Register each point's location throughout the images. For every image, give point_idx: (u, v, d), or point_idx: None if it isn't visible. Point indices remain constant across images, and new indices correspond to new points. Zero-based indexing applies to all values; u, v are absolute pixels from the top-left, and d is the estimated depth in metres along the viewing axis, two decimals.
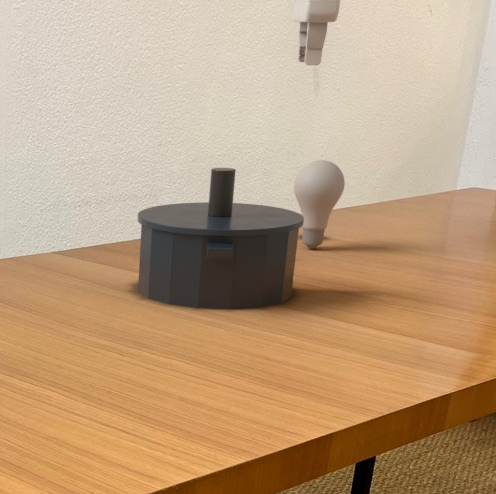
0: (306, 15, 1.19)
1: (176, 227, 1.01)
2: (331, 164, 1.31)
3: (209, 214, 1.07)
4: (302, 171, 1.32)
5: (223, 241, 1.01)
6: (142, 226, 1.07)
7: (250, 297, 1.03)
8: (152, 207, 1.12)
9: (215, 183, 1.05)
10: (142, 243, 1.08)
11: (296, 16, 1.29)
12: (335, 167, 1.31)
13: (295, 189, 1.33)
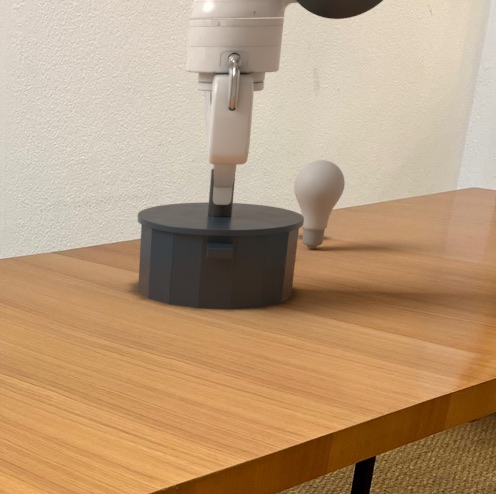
0: (209, 156, 0.96)
1: (176, 227, 1.01)
2: (331, 164, 1.31)
3: (209, 214, 1.07)
4: (302, 171, 1.32)
5: (223, 241, 1.01)
6: (142, 226, 1.07)
7: (250, 297, 1.03)
8: (152, 207, 1.12)
9: None
10: (142, 243, 1.08)
11: None
12: (335, 167, 1.31)
13: (295, 189, 1.33)
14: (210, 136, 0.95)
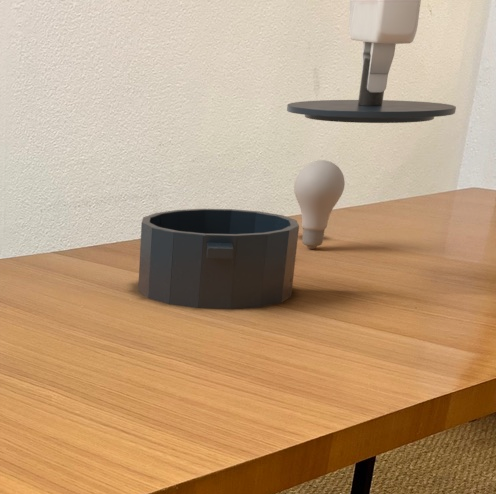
0: (376, 35, 0.98)
1: (335, 111, 1.03)
2: (331, 164, 1.31)
3: (360, 104, 1.09)
4: (302, 171, 1.32)
5: (223, 241, 1.01)
6: (142, 226, 1.07)
7: (250, 297, 1.03)
8: (297, 102, 1.14)
9: (368, 72, 1.07)
10: (142, 243, 1.08)
11: (358, 34, 1.09)
12: (335, 167, 1.31)
13: (295, 189, 1.33)
14: (379, 14, 0.97)
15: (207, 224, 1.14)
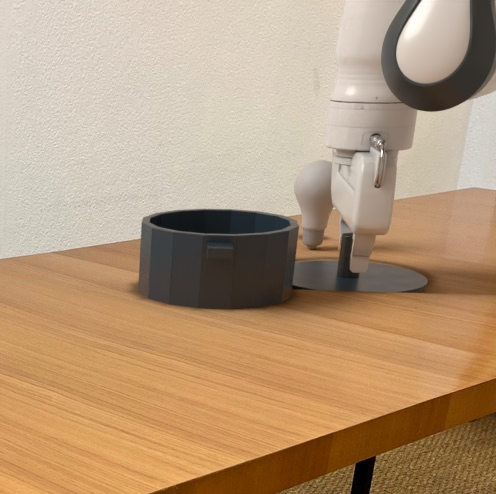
0: (353, 227, 1.06)
1: None
2: (331, 164, 1.31)
3: (338, 275, 1.16)
4: (302, 171, 1.32)
5: (223, 241, 1.01)
6: (142, 226, 1.07)
7: (250, 297, 1.03)
8: None
9: (346, 247, 1.15)
10: (142, 243, 1.08)
11: (338, 209, 1.17)
12: None
13: (295, 189, 1.33)
14: (356, 210, 1.05)
15: (207, 224, 1.14)
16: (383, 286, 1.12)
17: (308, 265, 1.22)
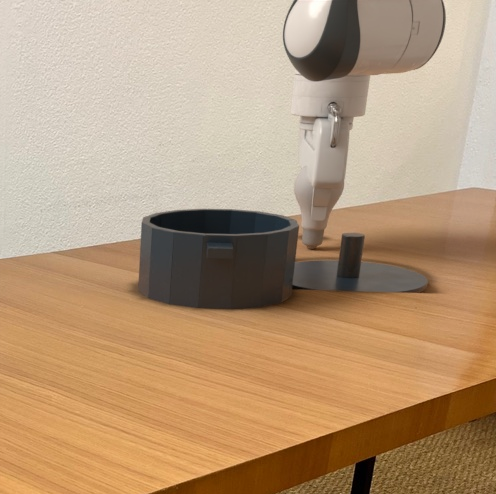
0: (313, 182, 1.24)
1: None
2: None
3: (338, 275, 1.16)
4: (302, 171, 1.32)
5: (223, 241, 1.01)
6: (142, 226, 1.07)
7: (250, 297, 1.03)
8: None
9: (346, 247, 1.15)
10: (142, 243, 1.08)
11: None
12: None
13: (295, 189, 1.33)
14: (315, 167, 1.23)
15: (207, 224, 1.14)
16: (383, 286, 1.12)
17: (308, 265, 1.22)
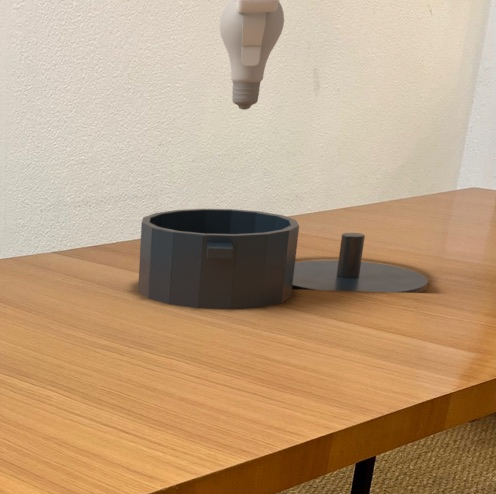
0: (238, 3, 0.94)
1: None
2: None
3: (338, 275, 1.16)
4: (229, 3, 1.02)
5: (223, 241, 1.01)
6: (142, 226, 1.07)
7: (250, 297, 1.03)
8: None
9: (346, 247, 1.15)
10: (142, 243, 1.08)
11: None
12: None
13: (221, 28, 1.03)
14: None
15: (207, 224, 1.14)
16: (383, 286, 1.12)
17: (308, 265, 1.22)
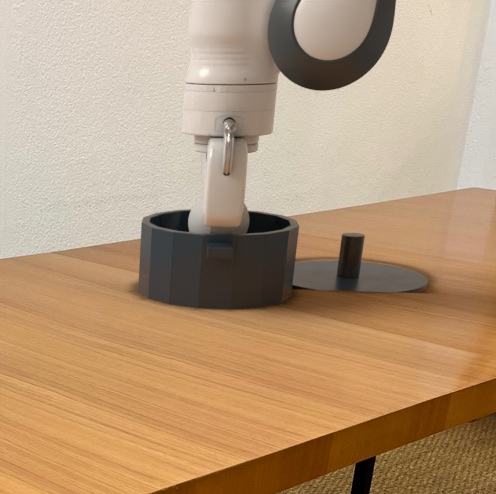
0: (204, 219, 0.98)
1: None
2: None
3: (338, 275, 1.16)
4: (196, 204, 1.06)
5: (223, 241, 1.01)
6: (142, 226, 1.07)
7: (250, 297, 1.03)
8: None
9: (346, 247, 1.15)
10: (142, 243, 1.08)
11: None
12: None
13: (189, 226, 1.07)
14: (205, 200, 0.98)
15: None
16: (383, 286, 1.12)
17: (308, 265, 1.22)
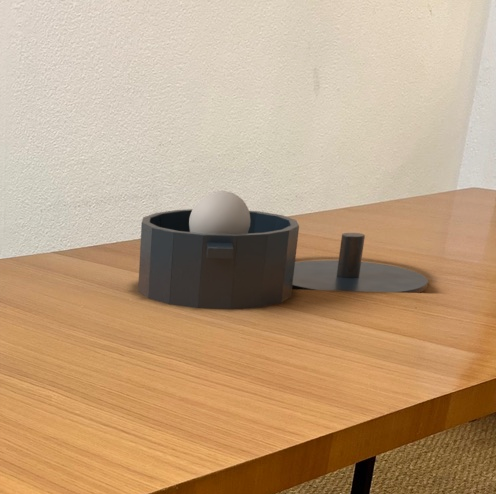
0: None
1: None
2: (232, 196, 1.05)
3: (338, 275, 1.16)
4: (197, 205, 1.06)
5: (223, 241, 1.01)
6: (142, 226, 1.07)
7: (250, 297, 1.03)
8: None
9: (346, 247, 1.15)
10: (142, 243, 1.08)
11: None
12: (237, 200, 1.05)
13: (190, 227, 1.07)
14: None
15: None
16: (383, 286, 1.12)
17: (308, 265, 1.22)
